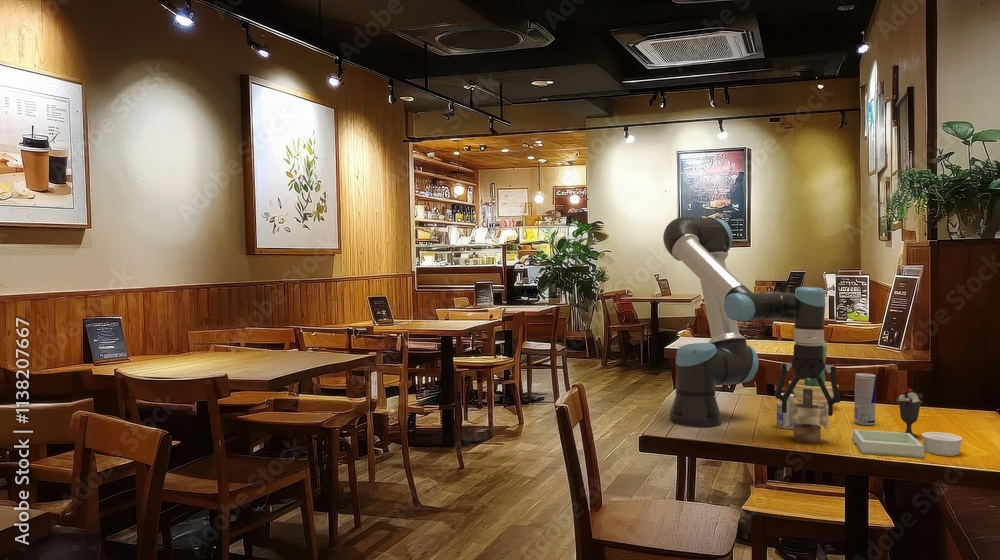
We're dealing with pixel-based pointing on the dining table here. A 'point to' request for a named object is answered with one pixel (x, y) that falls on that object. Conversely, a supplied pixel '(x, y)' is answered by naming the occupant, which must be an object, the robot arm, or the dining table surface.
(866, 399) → the beverage can
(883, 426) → the dining table surface
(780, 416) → the pill bottle
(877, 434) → the tray
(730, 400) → the dining table surface
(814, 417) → the ring
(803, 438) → the stake
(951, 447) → the ramekin
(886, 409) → the dining table surface
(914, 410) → the sundae
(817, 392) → the potted cactus
